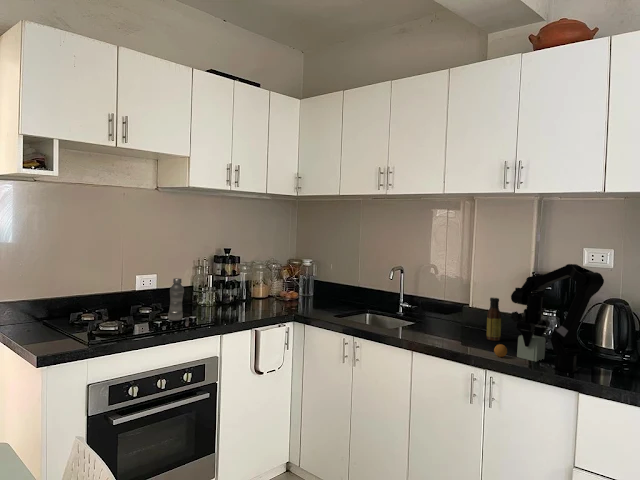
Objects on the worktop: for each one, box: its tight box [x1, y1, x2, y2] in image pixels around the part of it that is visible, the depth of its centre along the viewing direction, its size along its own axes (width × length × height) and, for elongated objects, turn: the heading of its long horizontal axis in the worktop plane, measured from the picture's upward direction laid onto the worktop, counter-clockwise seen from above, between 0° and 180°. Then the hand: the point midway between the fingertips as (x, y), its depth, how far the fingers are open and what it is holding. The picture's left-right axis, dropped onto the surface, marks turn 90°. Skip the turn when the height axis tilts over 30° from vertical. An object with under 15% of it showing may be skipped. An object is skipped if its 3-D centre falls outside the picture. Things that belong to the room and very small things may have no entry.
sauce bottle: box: [486, 297, 502, 342], centre depth 233 cm, size 6×6×20 cm
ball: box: [493, 343, 508, 358], centre depth 201 cm, size 5×5×5 cm
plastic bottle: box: [167, 277, 185, 322], centre depth 234 cm, size 6×7×20 cm
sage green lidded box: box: [516, 334, 547, 363], centre depth 202 cm, size 8×8×9 cm
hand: (531, 345), depth 202 cm, fingers open, 9 cm apart
